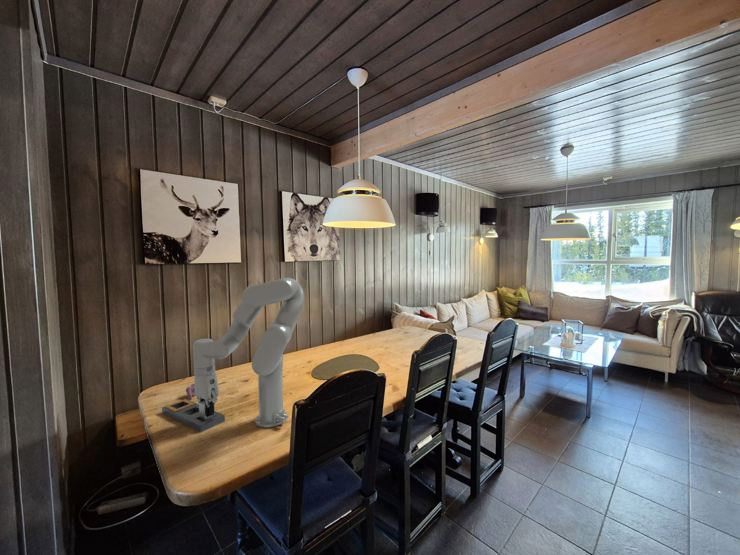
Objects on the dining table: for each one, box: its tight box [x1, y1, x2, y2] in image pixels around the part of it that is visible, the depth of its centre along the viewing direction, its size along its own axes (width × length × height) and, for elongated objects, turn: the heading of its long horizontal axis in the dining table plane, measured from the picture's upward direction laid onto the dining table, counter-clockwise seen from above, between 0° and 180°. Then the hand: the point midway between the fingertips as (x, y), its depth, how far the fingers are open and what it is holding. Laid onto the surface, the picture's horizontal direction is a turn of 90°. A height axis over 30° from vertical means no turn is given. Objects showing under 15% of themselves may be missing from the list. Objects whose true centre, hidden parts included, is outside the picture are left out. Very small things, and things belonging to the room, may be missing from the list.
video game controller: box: [185, 383, 196, 400], centre depth 153 cm, size 10×5×7 cm, turn 141°
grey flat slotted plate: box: [161, 398, 226, 433], centre depth 131 cm, size 30×10×3 cm, turn 58°
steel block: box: [199, 400, 215, 422], centre depth 126 cm, size 4×4×8 cm
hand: (206, 413), depth 126 cm, fingers closed on steel block, 4 cm apart
